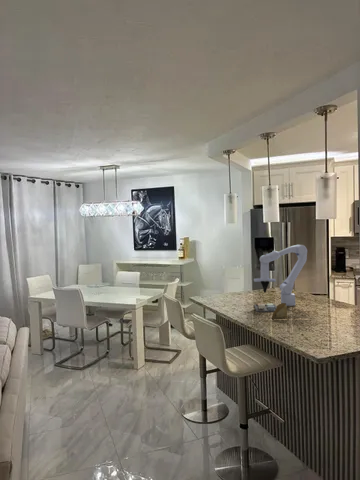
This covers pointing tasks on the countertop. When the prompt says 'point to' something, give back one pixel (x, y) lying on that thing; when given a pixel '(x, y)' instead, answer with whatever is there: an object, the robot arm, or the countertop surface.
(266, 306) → the dark grey tray
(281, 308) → the rock
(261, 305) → the key cream
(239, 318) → the countertop surface
